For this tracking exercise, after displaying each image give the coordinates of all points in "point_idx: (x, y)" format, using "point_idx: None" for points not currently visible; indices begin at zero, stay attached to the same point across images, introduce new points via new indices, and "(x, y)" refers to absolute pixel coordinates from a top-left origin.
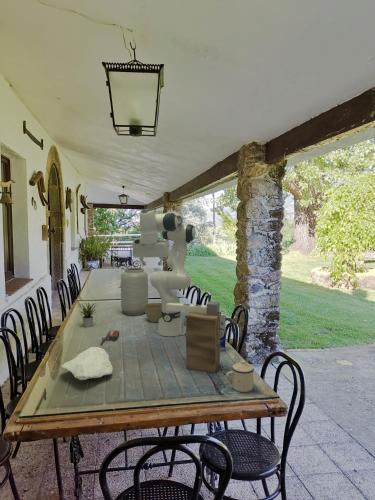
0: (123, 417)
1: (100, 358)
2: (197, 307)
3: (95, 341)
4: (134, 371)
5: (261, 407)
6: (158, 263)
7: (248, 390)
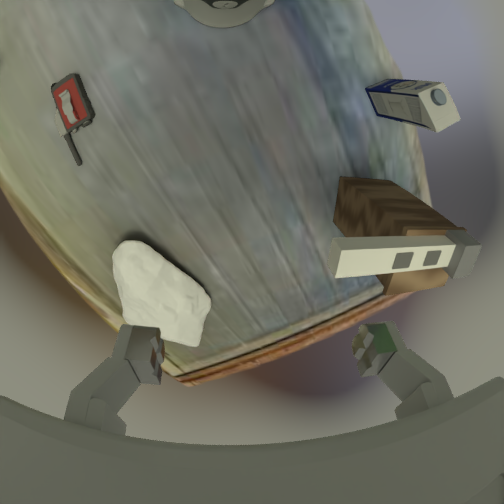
0: (278, 353)
1: (173, 299)
2: (427, 267)
3: (54, 147)
4: (236, 261)
5: None
6: (362, 365)
7: None
